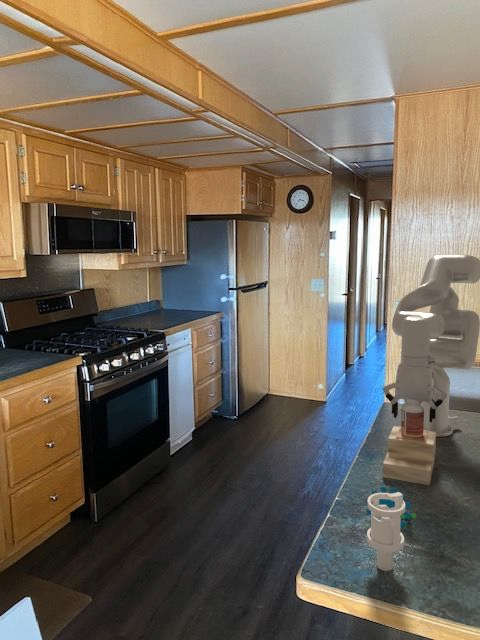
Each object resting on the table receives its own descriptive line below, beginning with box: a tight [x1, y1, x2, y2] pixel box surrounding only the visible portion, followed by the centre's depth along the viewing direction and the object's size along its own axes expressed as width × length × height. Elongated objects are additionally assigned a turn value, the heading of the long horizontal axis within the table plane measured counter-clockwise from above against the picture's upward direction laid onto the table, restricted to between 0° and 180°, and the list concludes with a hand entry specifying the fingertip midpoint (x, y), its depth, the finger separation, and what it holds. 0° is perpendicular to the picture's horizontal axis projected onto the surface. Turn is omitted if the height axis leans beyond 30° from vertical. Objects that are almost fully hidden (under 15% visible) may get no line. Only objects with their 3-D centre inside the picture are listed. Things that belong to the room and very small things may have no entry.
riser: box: [382, 425, 437, 486], centre depth 138 cm, size 18×12×8 cm, turn 154°
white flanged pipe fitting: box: [366, 491, 406, 572], centre depth 97 cm, size 7×7×15 cm
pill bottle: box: [400, 399, 424, 438], centre depth 140 cm, size 6×6×11 cm
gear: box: [365, 486, 417, 529], centre depth 113 cm, size 11×6×10 cm
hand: (413, 418), depth 140 cm, fingers open, 9 cm apart
